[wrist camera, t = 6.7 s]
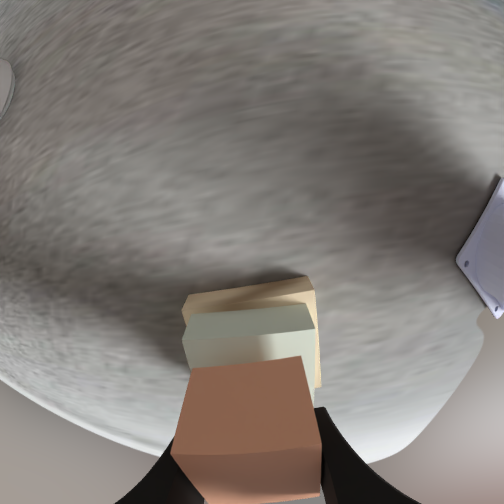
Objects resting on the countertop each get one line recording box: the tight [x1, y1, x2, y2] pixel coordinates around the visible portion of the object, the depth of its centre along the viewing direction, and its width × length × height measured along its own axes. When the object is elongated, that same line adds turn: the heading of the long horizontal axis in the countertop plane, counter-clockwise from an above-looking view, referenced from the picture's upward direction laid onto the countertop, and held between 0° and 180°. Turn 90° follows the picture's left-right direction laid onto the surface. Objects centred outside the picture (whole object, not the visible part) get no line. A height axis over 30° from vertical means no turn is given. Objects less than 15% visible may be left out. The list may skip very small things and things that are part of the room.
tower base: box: [181, 276, 321, 388], centre depth 17 cm, size 7×7×2 cm
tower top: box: [182, 304, 315, 407], centre depth 14 cm, size 6×6×2 cm
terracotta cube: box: [170, 355, 322, 504], centre depth 9 cm, size 4×4×4 cm
